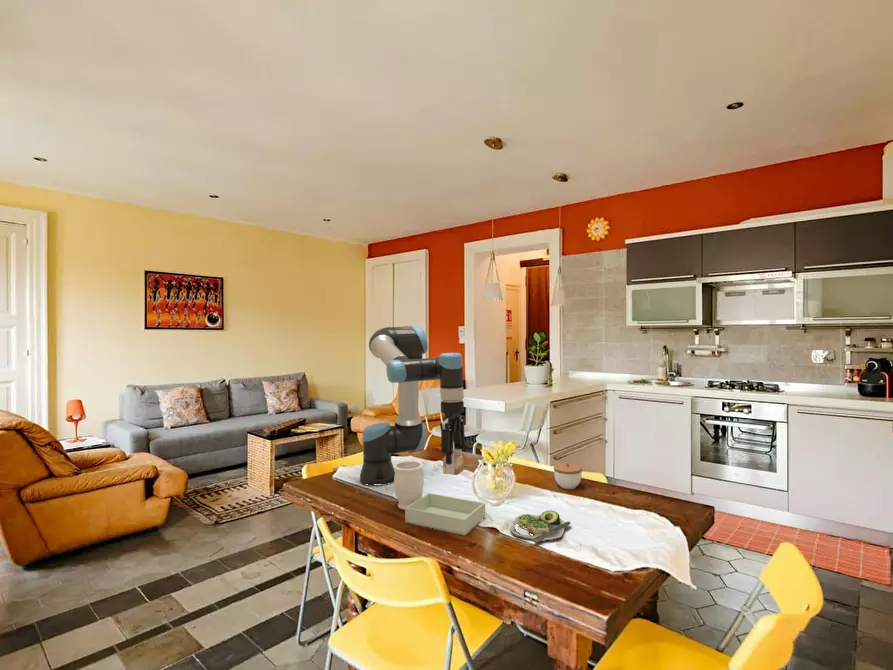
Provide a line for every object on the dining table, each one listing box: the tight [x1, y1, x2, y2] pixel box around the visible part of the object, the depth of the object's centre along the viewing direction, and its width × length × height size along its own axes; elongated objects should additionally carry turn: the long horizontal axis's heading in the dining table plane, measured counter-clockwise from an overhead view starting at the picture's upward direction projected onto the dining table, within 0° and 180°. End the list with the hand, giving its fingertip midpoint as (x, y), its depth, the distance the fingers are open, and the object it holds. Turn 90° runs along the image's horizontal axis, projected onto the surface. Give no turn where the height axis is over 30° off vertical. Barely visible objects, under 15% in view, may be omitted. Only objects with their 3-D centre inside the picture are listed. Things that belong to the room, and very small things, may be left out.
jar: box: [393, 461, 425, 511], centre depth 177 cm, size 11×10×15 cm
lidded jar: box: [553, 462, 583, 490], centre depth 193 cm, size 11×11×9 cm
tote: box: [404, 492, 486, 537], centre depth 164 cm, size 15×22×5 cm
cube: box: [442, 455, 465, 476], centre depth 161 cm, size 5×5×5 cm
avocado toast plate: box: [509, 509, 571, 543], centre depth 154 cm, size 19×18×5 cm
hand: (454, 470), depth 161 cm, fingers closed on cube, 5 cm apart
